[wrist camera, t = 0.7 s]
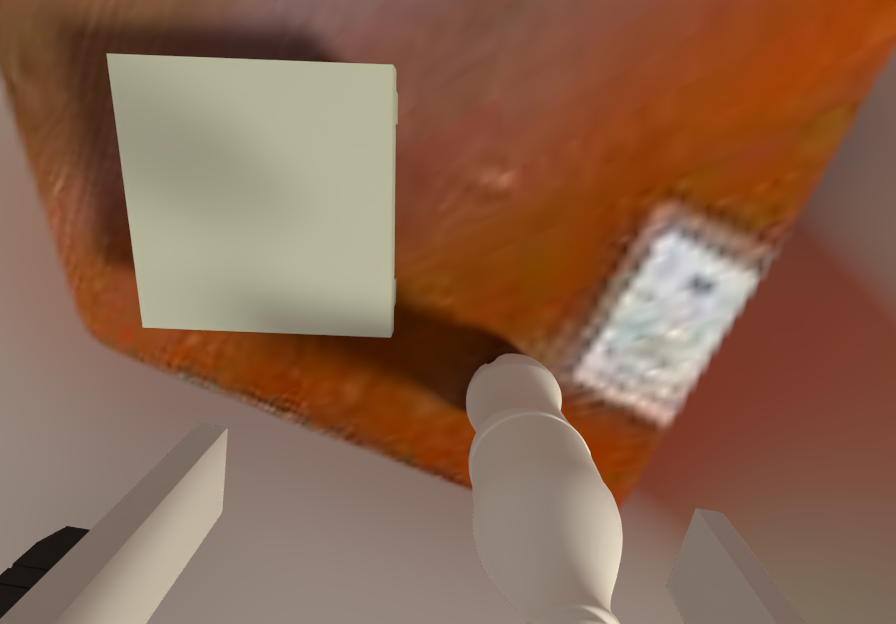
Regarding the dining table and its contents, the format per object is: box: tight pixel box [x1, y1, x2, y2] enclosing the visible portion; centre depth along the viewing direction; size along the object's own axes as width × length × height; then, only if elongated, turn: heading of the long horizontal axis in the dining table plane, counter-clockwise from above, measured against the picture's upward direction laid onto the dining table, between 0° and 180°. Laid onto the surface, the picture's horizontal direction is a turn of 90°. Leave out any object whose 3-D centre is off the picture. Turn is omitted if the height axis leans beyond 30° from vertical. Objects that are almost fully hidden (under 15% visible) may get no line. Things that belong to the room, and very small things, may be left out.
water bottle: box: [466, 353, 623, 624], centre depth 28 cm, size 7×7×25 cm
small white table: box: [106, 53, 398, 338], centre depth 33 cm, size 16×16×7 cm
